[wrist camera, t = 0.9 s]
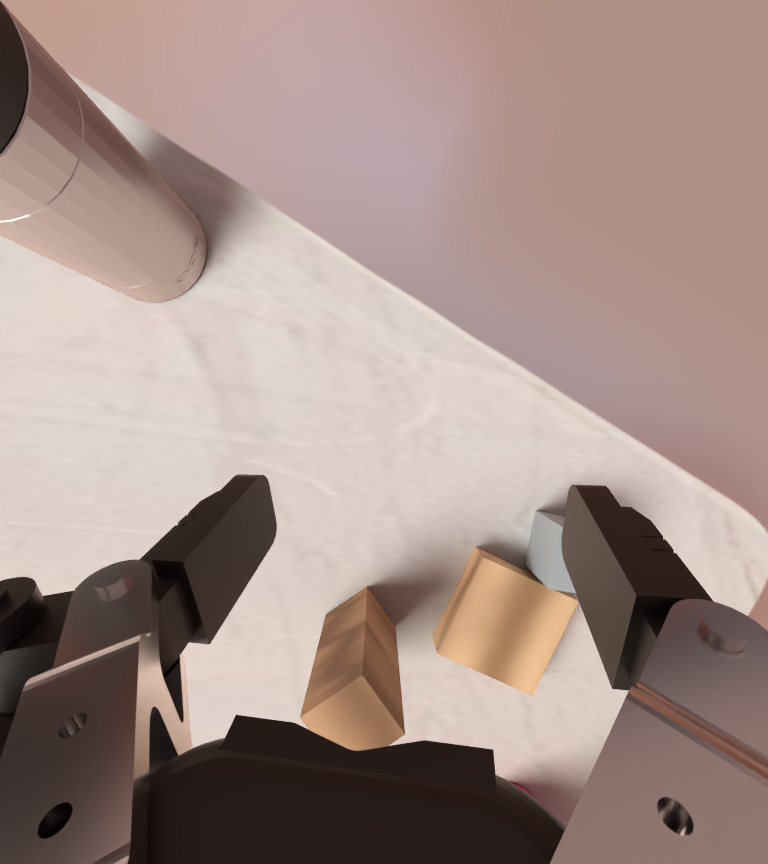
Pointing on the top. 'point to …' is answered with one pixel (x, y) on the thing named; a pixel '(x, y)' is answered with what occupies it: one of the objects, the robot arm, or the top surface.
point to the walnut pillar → (356, 678)
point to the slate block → (548, 552)
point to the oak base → (503, 622)
